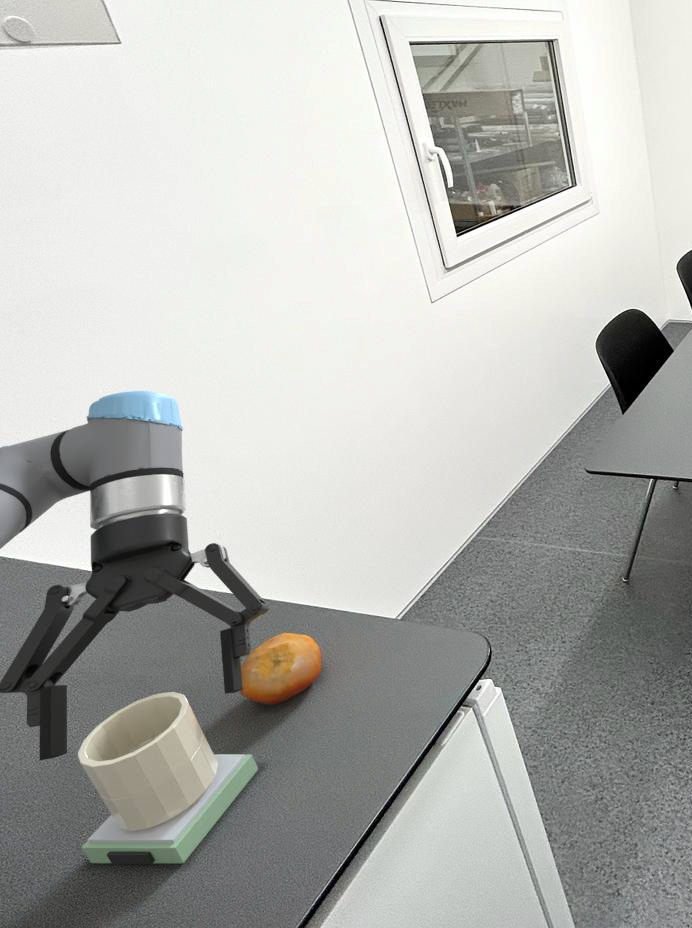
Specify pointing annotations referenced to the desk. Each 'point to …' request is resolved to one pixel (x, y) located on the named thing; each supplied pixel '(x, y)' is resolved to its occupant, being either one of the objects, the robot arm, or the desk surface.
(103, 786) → the cream faceted cup
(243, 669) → the fruit
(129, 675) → the desk surface
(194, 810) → the scale
